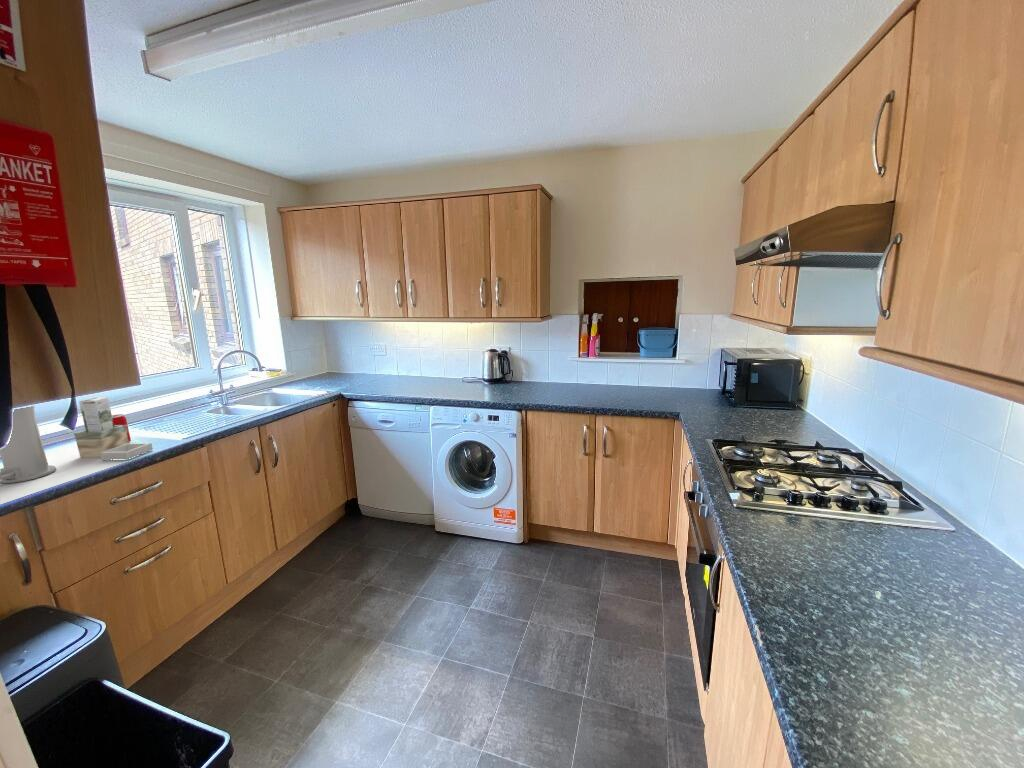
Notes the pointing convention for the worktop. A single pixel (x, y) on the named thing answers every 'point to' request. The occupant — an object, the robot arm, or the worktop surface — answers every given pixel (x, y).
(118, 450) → the grey collar
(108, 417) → the syrup box
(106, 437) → the raised stand
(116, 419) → the beverage can
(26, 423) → the robot arm
